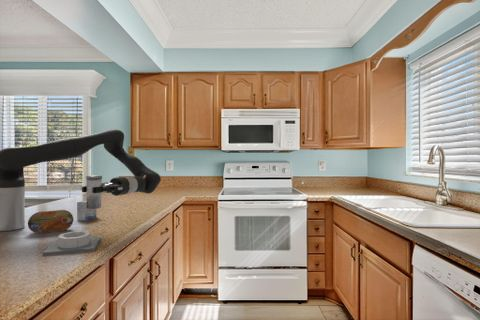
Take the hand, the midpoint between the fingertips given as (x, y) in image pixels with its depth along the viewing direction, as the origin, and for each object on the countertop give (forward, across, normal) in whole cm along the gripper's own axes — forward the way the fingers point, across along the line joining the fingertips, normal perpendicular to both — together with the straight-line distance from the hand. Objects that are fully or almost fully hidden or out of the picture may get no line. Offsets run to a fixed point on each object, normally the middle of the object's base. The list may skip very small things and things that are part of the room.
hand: (87, 189), depth 104 cm
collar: (+9, +5, +18) cm, 20 cm away
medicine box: (-22, -29, +18) cm, 40 cm away
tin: (0, -21, +18) cm, 28 cm away
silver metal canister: (-3, 0, +7) cm, 7 cm away
